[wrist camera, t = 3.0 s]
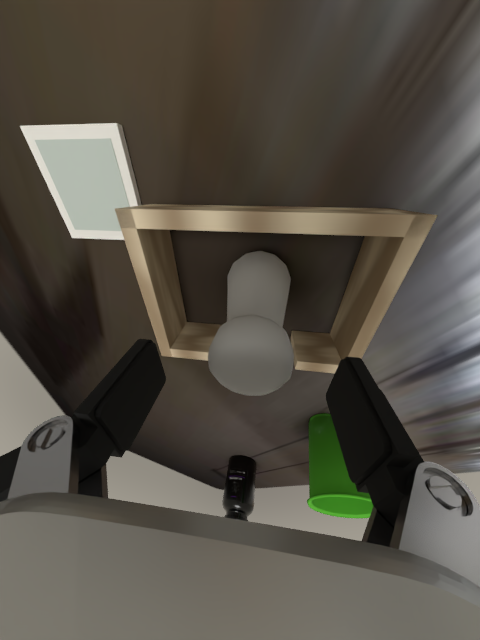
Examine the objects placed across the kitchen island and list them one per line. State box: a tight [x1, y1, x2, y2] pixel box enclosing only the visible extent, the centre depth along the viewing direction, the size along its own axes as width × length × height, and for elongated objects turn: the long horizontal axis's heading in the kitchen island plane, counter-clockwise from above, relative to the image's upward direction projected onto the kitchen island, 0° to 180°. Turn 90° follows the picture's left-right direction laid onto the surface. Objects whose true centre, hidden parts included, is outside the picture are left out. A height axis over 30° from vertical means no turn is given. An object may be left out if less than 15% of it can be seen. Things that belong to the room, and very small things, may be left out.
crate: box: [115, 204, 438, 373], centre depth 18 cm, size 20×14×5 cm
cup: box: [307, 414, 373, 518], centre depth 28 cm, size 9×9×11 cm
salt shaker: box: [208, 251, 294, 396], centre depth 14 cm, size 6×6×13 cm
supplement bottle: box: [223, 456, 256, 521], centre depth 42 cm, size 7×7×12 cm
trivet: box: [20, 123, 142, 240], centre depth 16 cm, size 8×8×1 cm
